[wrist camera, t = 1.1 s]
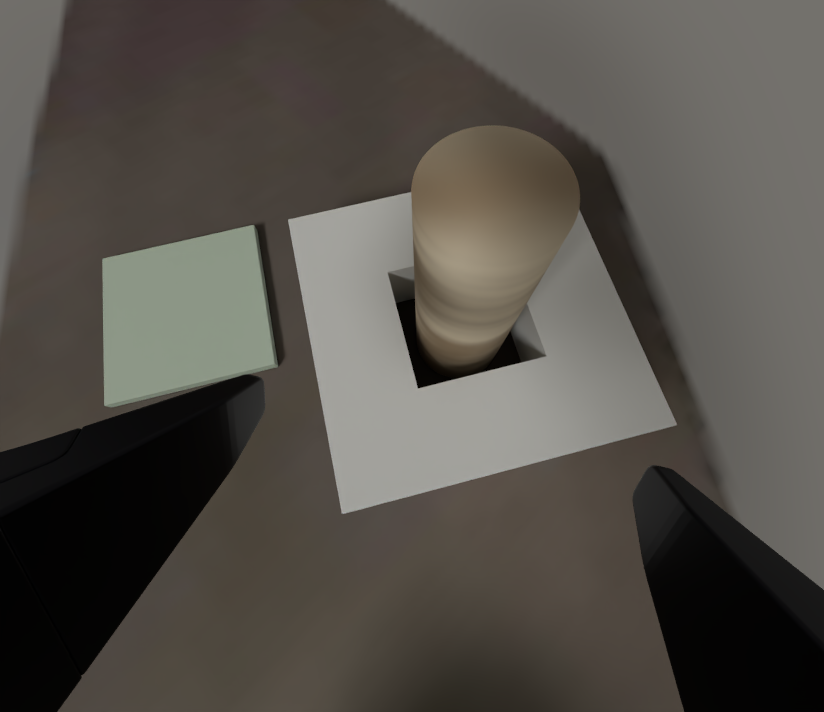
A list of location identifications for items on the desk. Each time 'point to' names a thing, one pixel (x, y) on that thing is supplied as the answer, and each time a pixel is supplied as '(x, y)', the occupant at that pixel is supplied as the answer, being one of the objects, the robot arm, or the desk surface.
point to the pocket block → (468, 396)
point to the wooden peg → (484, 239)
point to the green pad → (185, 316)
